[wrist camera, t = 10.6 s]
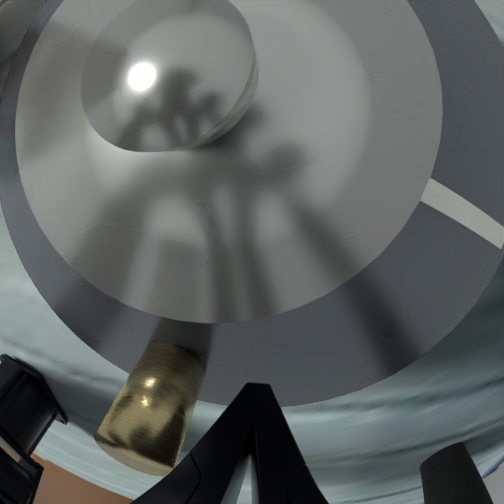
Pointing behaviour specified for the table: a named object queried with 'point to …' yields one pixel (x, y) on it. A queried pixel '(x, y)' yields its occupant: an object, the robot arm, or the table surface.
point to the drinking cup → (453, 478)
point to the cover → (226, 146)
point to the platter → (317, 311)
